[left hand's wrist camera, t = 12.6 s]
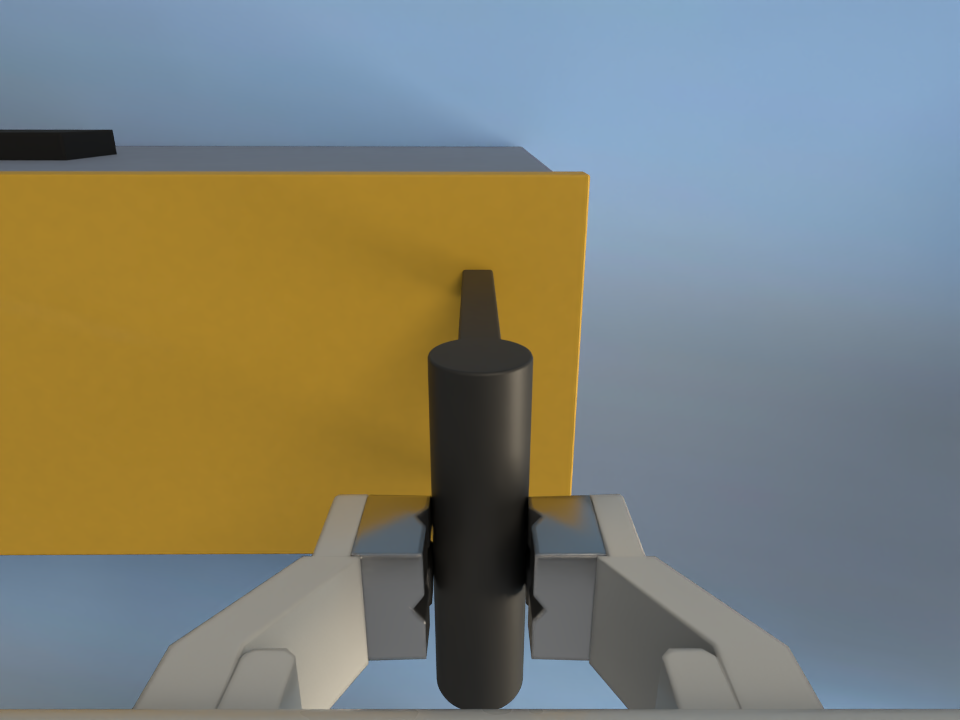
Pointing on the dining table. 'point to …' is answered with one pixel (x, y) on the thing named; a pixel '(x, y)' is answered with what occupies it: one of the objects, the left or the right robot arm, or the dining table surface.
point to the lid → (295, 370)
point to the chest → (295, 159)
